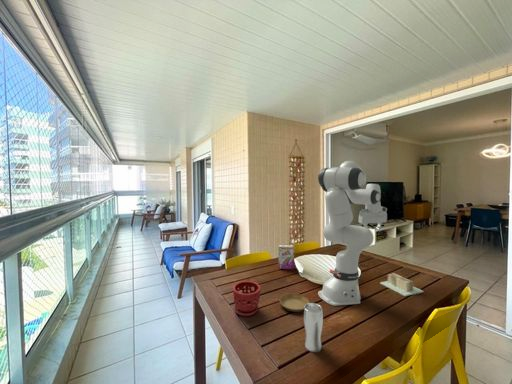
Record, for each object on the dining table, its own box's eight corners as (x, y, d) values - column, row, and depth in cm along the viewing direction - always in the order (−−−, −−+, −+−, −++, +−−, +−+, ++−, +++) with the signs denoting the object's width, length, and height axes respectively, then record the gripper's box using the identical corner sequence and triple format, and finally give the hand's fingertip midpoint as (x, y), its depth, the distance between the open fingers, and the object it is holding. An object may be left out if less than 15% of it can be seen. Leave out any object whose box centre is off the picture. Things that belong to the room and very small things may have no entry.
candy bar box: (278, 269, 156) (278, 246, 155) (278, 266, 161) (278, 244, 160) (294, 269, 154) (294, 247, 154) (293, 267, 159) (293, 245, 159)
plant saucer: (309, 300, 115) (309, 295, 115) (308, 316, 101) (308, 311, 100) (281, 296, 119) (281, 292, 118) (277, 312, 104) (277, 306, 104)
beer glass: (322, 355, 77) (322, 314, 77) (302, 350, 80) (302, 310, 79) (323, 342, 84) (323, 304, 83) (305, 337, 87) (305, 301, 86)
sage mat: (404, 296, 117) (404, 295, 117) (379, 283, 133) (380, 282, 132) (423, 292, 121) (423, 291, 121) (397, 280, 137) (397, 279, 137)
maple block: (387, 282, 133) (406, 291, 121) (387, 274, 132) (406, 282, 121) (393, 281, 134) (413, 290, 123) (393, 273, 134) (413, 281, 122)
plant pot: (230, 318, 100) (230, 292, 99) (236, 302, 113) (236, 280, 112) (258, 320, 98) (258, 294, 97) (261, 304, 111) (261, 281, 110)
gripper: (363, 209, 134) (363, 232, 135) (389, 208, 140) (388, 229, 141) (356, 208, 140) (355, 229, 141) (380, 207, 146) (380, 227, 147)
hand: (372, 229), depth 141 cm, fingers open, 8 cm apart
